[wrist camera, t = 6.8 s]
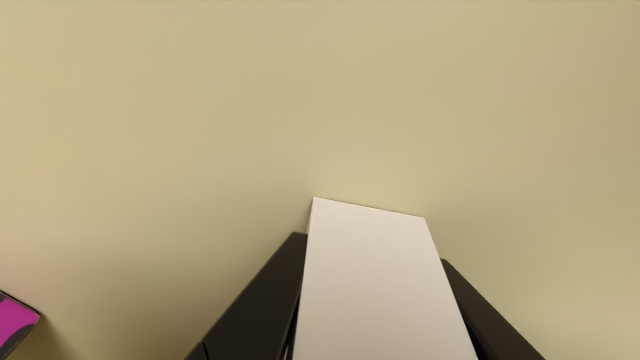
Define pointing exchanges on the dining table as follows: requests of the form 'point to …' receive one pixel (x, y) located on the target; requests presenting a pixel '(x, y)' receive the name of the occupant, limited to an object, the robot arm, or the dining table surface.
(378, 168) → the dining table surface
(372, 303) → the tethered block
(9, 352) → the candy bar box
